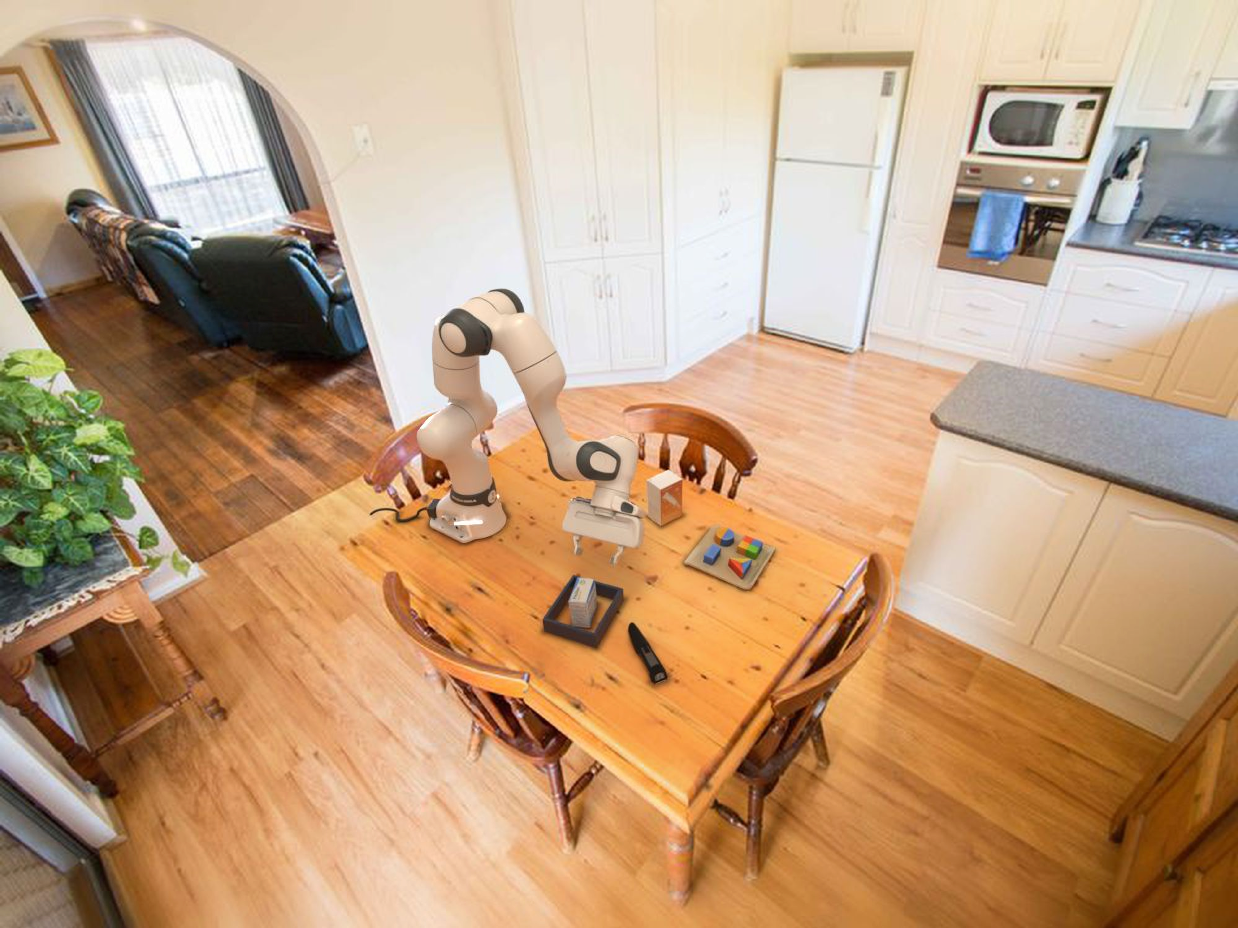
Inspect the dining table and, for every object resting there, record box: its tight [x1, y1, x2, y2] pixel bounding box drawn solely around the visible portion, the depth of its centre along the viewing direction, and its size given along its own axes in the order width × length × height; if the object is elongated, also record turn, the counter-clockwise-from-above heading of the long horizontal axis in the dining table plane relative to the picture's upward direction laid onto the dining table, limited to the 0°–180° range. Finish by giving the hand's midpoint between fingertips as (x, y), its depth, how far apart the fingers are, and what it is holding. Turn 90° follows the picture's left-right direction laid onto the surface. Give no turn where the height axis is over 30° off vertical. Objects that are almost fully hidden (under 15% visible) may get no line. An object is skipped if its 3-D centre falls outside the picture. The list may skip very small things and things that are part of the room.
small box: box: [646, 469, 683, 527], centre depth 172 cm, size 8×6×13 cm
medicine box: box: [568, 577, 598, 629], centre depth 143 cm, size 8×4×9 cm, turn 168°
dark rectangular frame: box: [541, 574, 625, 648], centre depth 145 cm, size 14×16×4 cm
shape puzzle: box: [683, 524, 776, 591], centre depth 158 cm, size 18×19×4 cm
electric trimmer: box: [627, 622, 668, 685], centre depth 134 cm, size 4×16×3 cm, turn 22°
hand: (595, 559), depth 145 cm, fingers open, 8 cm apart
